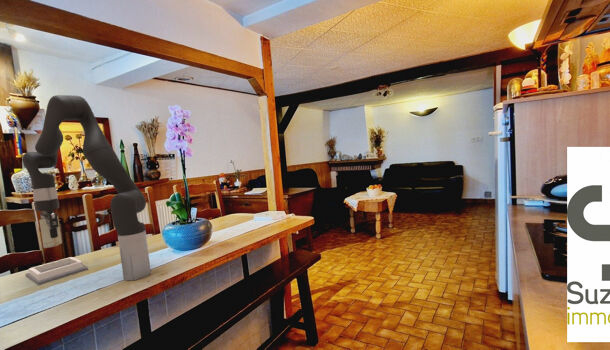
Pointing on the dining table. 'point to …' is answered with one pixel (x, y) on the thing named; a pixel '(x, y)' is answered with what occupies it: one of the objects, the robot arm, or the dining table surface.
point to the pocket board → (55, 270)
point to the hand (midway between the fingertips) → (51, 236)
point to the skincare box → (46, 235)
